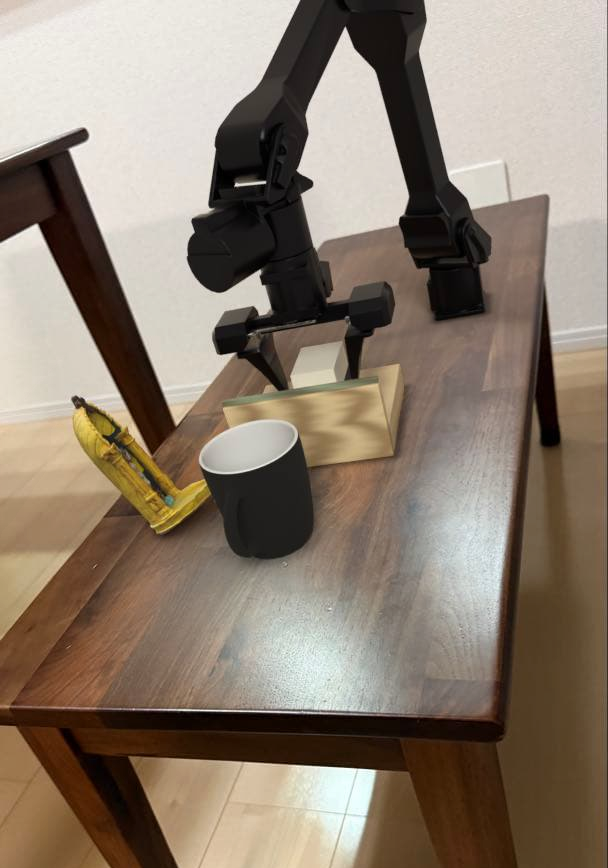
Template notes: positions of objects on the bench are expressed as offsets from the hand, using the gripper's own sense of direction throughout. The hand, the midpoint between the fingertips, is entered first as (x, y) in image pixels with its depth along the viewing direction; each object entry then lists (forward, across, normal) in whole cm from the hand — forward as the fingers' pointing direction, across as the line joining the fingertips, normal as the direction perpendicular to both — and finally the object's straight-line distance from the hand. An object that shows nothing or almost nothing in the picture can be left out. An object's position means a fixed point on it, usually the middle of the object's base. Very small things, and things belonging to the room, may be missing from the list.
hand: (321, 391), depth 92 cm
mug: (+4, +2, +23) cm, 23 cm away
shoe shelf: (+4, 0, +1) cm, 4 cm away
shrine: (+4, +14, +17) cm, 22 cm away
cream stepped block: (+1, 0, 0) cm, 1 cm away
